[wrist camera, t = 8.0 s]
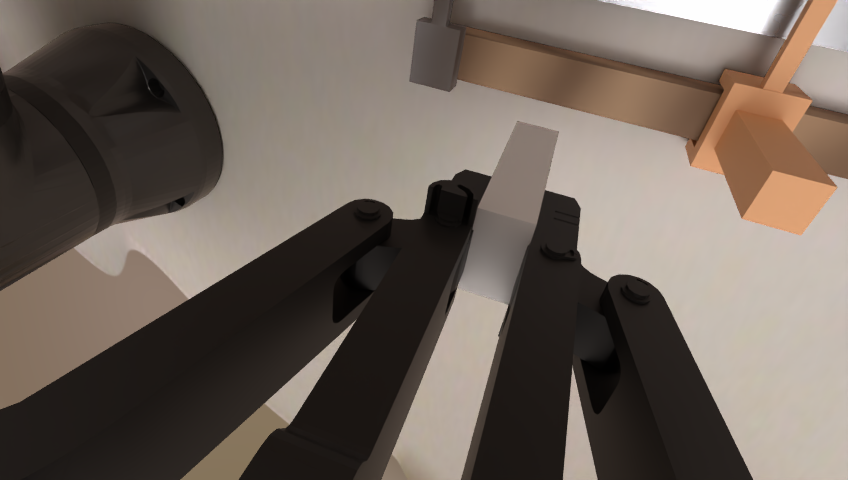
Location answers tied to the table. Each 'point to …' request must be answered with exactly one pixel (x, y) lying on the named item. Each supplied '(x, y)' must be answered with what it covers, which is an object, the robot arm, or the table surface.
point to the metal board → (753, 16)
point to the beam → (594, 84)
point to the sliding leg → (768, 137)
